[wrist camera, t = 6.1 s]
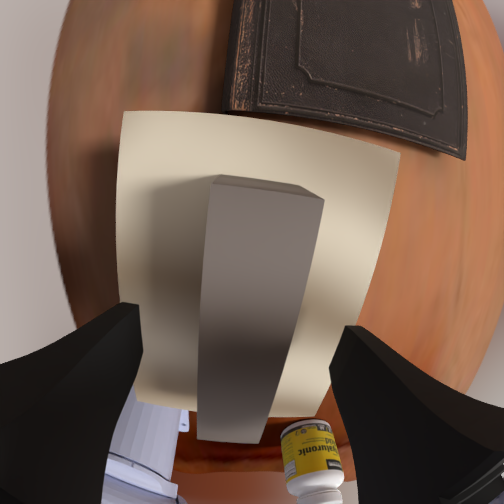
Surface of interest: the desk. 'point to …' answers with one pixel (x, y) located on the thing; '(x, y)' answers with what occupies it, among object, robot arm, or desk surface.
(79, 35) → the desk surface
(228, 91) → the hardcover book
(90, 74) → the desk surface
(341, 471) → the supplement bottle
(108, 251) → the desk surface
